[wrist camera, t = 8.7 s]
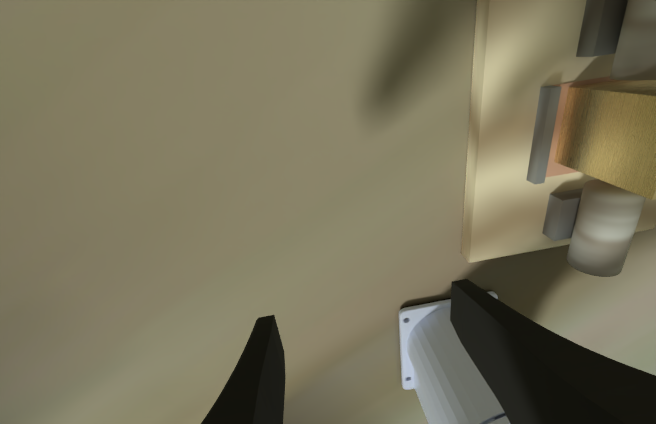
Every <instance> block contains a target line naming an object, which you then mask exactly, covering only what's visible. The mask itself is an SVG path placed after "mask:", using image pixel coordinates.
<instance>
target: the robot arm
mask: <svg viewBox="0 0 656 424" xmlns="http://www.w3.org/2000/svg"><path fill="white" fill-rule="evenodd" d="M405 318H407V319H405ZM399 332H400V354H401V377H402V386H403V388H404V389H406V390H409V389H414V388H415V390H416V393H417V395H418V398H419V400H420V403H421V405H422V408H423V411H424V413H425V416H426V418H427V421H428V423H429V424H656V376H655V375H652V374H649V373H647V372H644V371H641V370H638V369H636V368H633V367H630V366H628V365H625V364H622V363H620V362H617V361H615V360H612V359H610V358H607V357H605V356H603V355H600V354H598V353H596V352H593V351H591V350H589V349H587V348H584V347H582V346H580V345H578V344H576V343H574V342H572V341H570V340H568V339H566V338H563V337H561V336H559V335H557V334H555V333H554V332H552V331H550V330H548V329H546V328H544V327H542V326H541V325H539V324H537V323H535V322H534V321H532V320H530V319H528V318H527V317H525V316H523V315H522V314H520V313H518V312H517V311H515V310H513V309H512V308H510V307H509V306H507V305H505V304H504V303H502V302H501V301H499V300H498V296H497V295H496V293H495V292H493V291H491V292H486V291H484V290H483V289H481V288H479V287H478V286H476V285H475V284H473V283H472V282H470V281H469V280H467V279H465V280H459V281H454V282H452V290H451V299H448V300H443V301H438V302H433V303H427V304H422V305H417V306H411V307H406V308H403V309H401V310H400V311H399ZM284 394H285V360H284V350H283V346H282V342H281V339H280V335H279V331H278V328H277V324H276V320H275V317H274V315H271V316H266V317H261V318H258V319H257V320H256V323H255V326H254V328H253V331H252V333H251V335H250V338H249V340H248V342H247V344H246V347H245V349H244V351H243V353H242V355H241V357H240V359H239V361H238V363H237V365H236V367H235V369H234V371H233V373H232V374H231V376H230V378H229V380H228V382H227V383H226V385H225V387H224V389H223V390H222V392H221V394H220V395H219V397H218V399H217V400H216V402H215V404H214V405H213V407H212V408H211V410H210V411H209V413H208V414H207V416H206V417H205V419H204V420H203V421H202V423H201V424H283V411H284Z"/></svg>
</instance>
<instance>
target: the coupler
mask: <svg viewBox="0 0 656 424" xmlns="http://www.w3.org/2000/svg"><path fill="white" fill-rule="evenodd" d="M554 162H555V163H558V164H561V165H563V166H566V167H568V168H571V169H574V170H576V171H579V172H581V173H584V174H586V175H589V176H592V177H594V178H597V179H599V180H602V181H604V182H607V183H610V184H612V185H615V186H617V187H620V188H622V189H625V190H628V191H630V192H633V193H635V194H638V195H640V196H643V197H646V198H648V199H651V200H655V199H656V80H640V81H627V80H613V81H607V82H600V83H593V84H586V85H580V86H573V87H569V88H568V93H567V98H566V104H565V109H564V114H563V119H562V124H561V129H560V134H559V139H558V144H557V149H556V155H555V160H554Z"/></svg>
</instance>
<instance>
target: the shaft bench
mask: <svg viewBox="0 0 656 424" xmlns="http://www.w3.org/2000/svg"><path fill="white" fill-rule="evenodd" d="M613 80H627V81H640V80H656V0H477V8H476V24H475V40H474V56H473V72H472V88H471V103H470V119H469V135H468V151H467V167H466V183H465V199H464V215H463V231H462V247H461V254H462V255H463V256H464V257H465V258H466V260H467V261H468V262H469V263H471V262H476V261H482V260H487V259H493V258H498V257H503V256H509V255H514V254H520V253H525V252H530V251H536V250H541V249H547V248H552V247H558V246H563V245H568V244H570V246H569V250H568V254H567V261H568V263H569V264H570V265H571V266H572V267H574V268H575V269H577V270H579V271H581V272H584V273H586V274H590V275H594V276H601V277H610V276H615V275H618V274H619V273H620V272H621V271H622V268H623V265H624V262H625V259H626V256H627V253H628V250H629V247H630V244H631V241H632V238H633V235H634V232H639V231H644V230H650V229H654V226H655V223H656V199H655V200H651V199H648V198H646V197H643V196H640V195H638V194H635V193H633V192H630V191H628V190H625V189H622V188H620V187H617V186H615V185H612V184H610V183H607V182H604V181H602V180H599V179H597V178H594V177H592V176H589V175H586V174H584V173H581V172H579V171H576V170H574V169H571V168H568V167H566V166H563V165H561V164H558V163H555V162H554V160H555V155H556V149H557V144H558V139H559V134H560V129H561V124H562V119H563V114H564V109H565V104H566V98H567V93H568V88H569V87H573V86H580V85H586V84H593V83H600V82H607V81H613Z"/></svg>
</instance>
